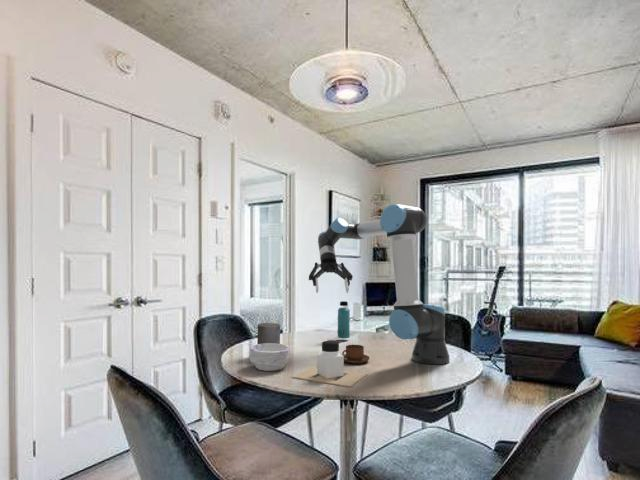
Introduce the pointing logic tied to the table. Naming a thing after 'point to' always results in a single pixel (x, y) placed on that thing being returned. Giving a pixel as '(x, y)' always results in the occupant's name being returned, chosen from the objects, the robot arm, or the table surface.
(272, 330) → the pillar candle
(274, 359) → the paper bowls
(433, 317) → the robot arm
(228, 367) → the table surface
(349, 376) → the letter card
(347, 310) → the beverage bottle
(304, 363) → the table surface
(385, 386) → the table surface
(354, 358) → the cup and saucer
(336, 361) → the medicine bottle
